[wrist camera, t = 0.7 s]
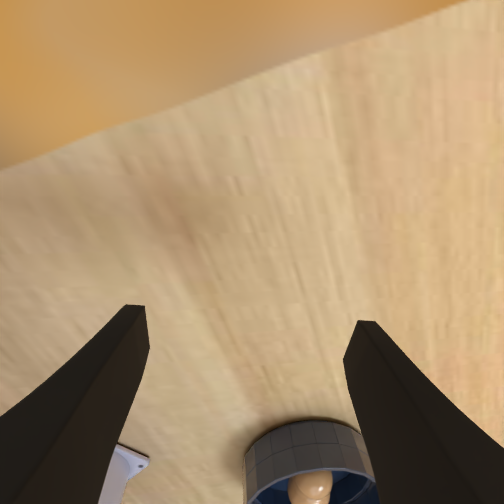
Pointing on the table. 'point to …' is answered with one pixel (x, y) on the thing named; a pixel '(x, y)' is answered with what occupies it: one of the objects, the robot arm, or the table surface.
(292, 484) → the tan double sphere
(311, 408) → the table surface
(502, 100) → the table surface
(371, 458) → the robot arm
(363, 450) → the basin
